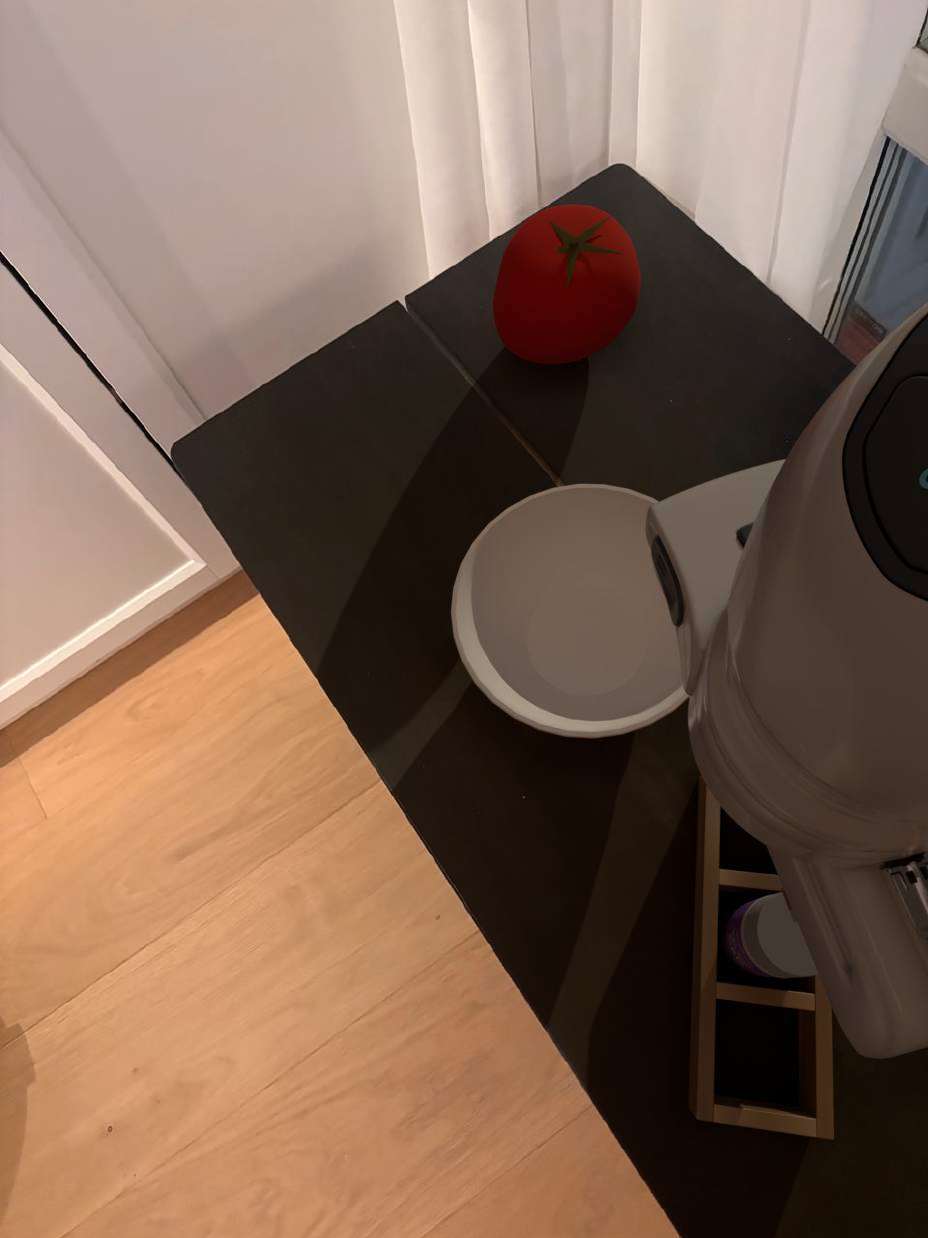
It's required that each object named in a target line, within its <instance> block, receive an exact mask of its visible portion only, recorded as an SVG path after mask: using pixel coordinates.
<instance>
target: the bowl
mask: <svg viewBox="0 0 928 1238" xmlns="http://www.w3.org/2000/svg"><path fill="white" fill-rule="evenodd" d="M658 502H660V501H659V500H657V499H655V498H654V497H652V496H649V495H646V494H643V493H640V492H638V491H635V490H633V489H630V488H626V487H620V486H615V485H610V484H604V483H576V484H575V483H574V484H568V485H564V486H563V485H562V486H556V487H552V488H549V489H546V490H543V491H540V492H537V493H535V494H531V495H529V496H527V497H525V498H523V499H521V500H520V501H518V502H516V503H514V504H513V505H510V506H509V507H507V508H506V509H505V510H503V511H502V512H501V513H499V515H497V516H496V517H494V519H493V520H491V521H490V522H489V523H488V524H487V525H486V526H485V527H484V529H483V530H482V531H481V532H480V533H479V534H478V536H477V537H476V538H475V539H474V540H473V542H472V543H471V545H470V547H469V548H468V550H467V552H466V553H465V555H464V557H463V559H462V561H461V563H460V564H459V569H458V572H457V574H456V578H455V581H454V584H453V588H452V596H451V597H452V598H451V608H450V618H451V626H452V636H453V639H454V643H455V646H456V648H457V652H458V655H459V657H460V660H461V662H462V664H463V666H464V667H465V669H466V671H467V673H468V675H469V676H470V678H471V680H472V681H473V683H474V684H475V685H476V687H478V689H479V690H480V691H481V692H482V693H483V694H484V695H485V696H486V697H487V699H488V700H489V702H491V704H493V705H495V706H496V707H498V709H500V710H502V711H503V712H505V713H506V714H507V715H508V716H510V717H511V718H513V719H515V721H519V722H520V723H523V724H525V725H527V726H529V727H531V728H534V729H536V730H538V731H541V732H545V733H549V734H553V735H557V736H560V737H565V738H578V739H601V738H607V737H614V736H622V735H625V734H628V733H631V732H634V731H638V730H640V729H643V728H647V727H649V726H651V725H653V724H655V723H657V722H658V721H660V720H661V719H663V718H664V717H666V716H668V715H670V714H672V713H673V712H674V711H676V710H677V709H679V707H680V706H682V705H683V704H684V703H685V702H686V701H687V700H688V699H690V696H689V695H687V693H686V692H685V691H684V688H683V683H682V674H681V662H680V652H679V644H678V639H677V633H676V628H675V625H673V623H672V620H671V616H670V612H669V608H668V605H667V601H666V598H665V596H664V594H663V592H662V589H661V587H660V585H659V582H658V580H657V577H656V574H655V571H654V567H653V563H652V558H651V550H650V547H649V544H648V541H647V538H646V516H647V512H648V509H649V507H650V506H651V505H654V504H656V503H658Z"/></svg>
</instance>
